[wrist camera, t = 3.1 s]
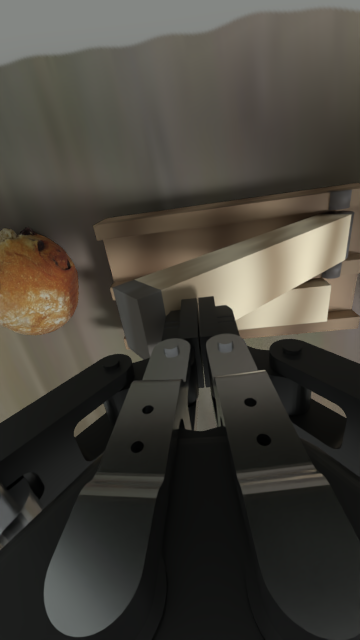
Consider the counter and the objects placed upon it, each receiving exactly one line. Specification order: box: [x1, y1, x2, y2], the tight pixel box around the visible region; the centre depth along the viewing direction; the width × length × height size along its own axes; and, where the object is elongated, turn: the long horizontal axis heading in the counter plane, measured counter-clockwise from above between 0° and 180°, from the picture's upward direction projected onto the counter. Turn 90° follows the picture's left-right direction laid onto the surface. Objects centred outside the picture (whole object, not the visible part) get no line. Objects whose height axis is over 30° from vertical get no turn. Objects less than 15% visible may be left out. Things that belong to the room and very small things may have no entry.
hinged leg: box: [112, 211, 354, 360], centre depth 18 cm, size 20×3×2 cm
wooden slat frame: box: [93, 183, 360, 349], centre depth 25 cm, size 22×12×5 cm, turn 98°
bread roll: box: [0, 227, 79, 335], centre depth 27 cm, size 10×10×8 cm
